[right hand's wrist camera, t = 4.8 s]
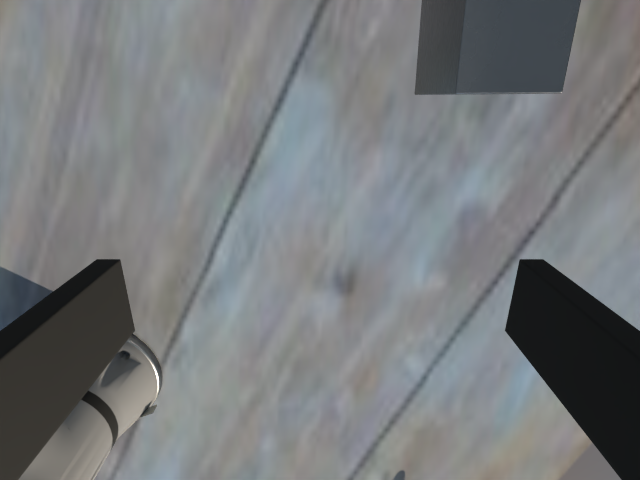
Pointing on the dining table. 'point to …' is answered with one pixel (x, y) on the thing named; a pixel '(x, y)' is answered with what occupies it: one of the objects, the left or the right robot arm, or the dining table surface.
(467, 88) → the bar
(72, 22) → the dining table surface
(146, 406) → the right robot arm
